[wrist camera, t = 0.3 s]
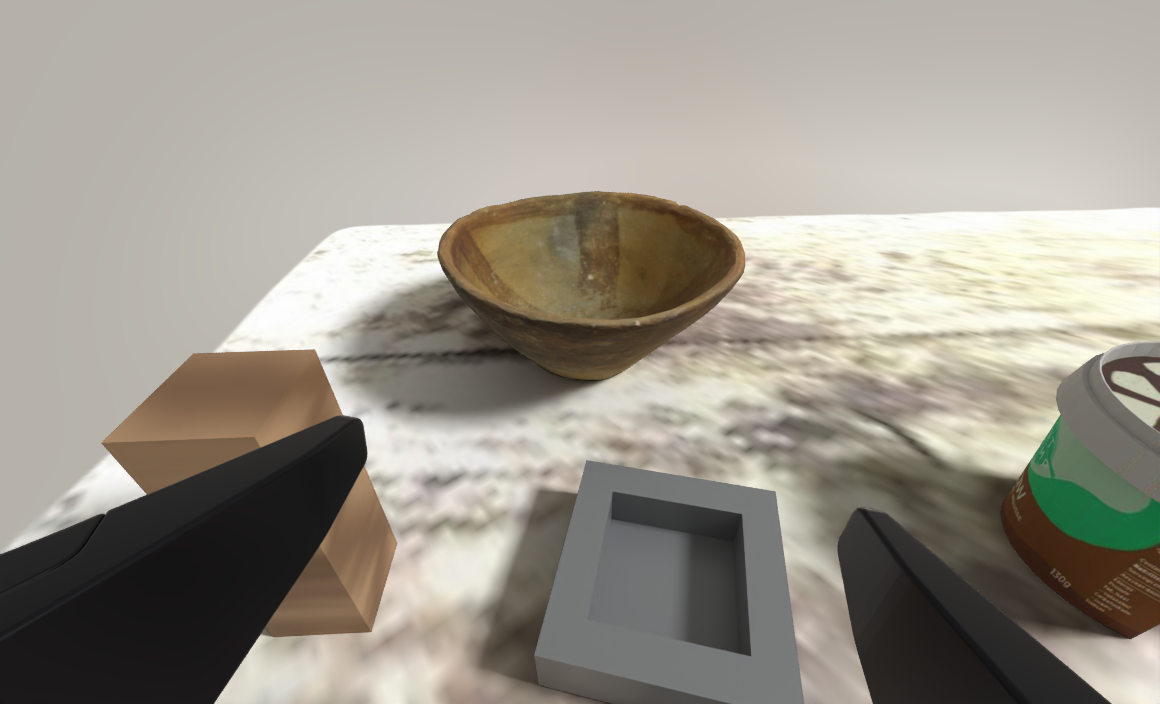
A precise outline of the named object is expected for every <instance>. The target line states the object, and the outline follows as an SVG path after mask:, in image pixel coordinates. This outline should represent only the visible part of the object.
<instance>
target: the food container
mask: <svg viewBox="0 0 1160 704" xmlns="http://www.w3.org/2000/svg"><path fill="white" fill-rule="evenodd" d="M1056 401H1057V405H1058V409H1059V412H1060V414H1061V415H1060V417H1059V418H1058V420H1057V421H1056V423H1055V424H1054V426H1053V427H1052V429H1051V430H1050V432H1049V433H1048V435H1047V436H1046V438H1045V439H1044V441H1043V442H1042V444H1041V445H1040V447H1039V448H1038V450H1037V452H1036V453H1035V455H1034V456H1033V458H1032V459H1031V461H1030V462H1029V464H1028V465H1027V467H1026V468H1025V470H1024V471H1023V473H1022V474H1021V476H1020V477H1019V479H1018V480H1017V482H1016V483H1015V485H1014V486H1013V488H1012V490H1011V491H1010V493H1009V494H1008V496H1007V497H1006V499H1005V500H1004V502H1003V503H1002V507H1001V521H1002V525H1003V528H1004V531H1005V533H1006V535H1007V537H1008V539H1009V541H1010V543H1011V544H1012V546H1013V547H1014V549H1015V550H1016V552H1017V553H1018V554H1019V556H1020V557H1021V558H1022V559H1023V561H1024V562H1025V563H1026V564H1027V565H1028V566H1029V567H1030V569H1031V570H1032V571H1033V572H1034V573H1035V574H1036V575H1037V576H1038V577H1039V578H1041V579H1042V580H1043V581H1044V582H1045V583H1046V584H1047V585H1048V586H1049V587H1050V588H1052V589H1053V590H1054V591H1055V592H1056V593H1058V594H1059V595H1060V596H1061V597H1063V598H1064V599H1065V600H1067V601H1068V602H1069V603H1071V604H1072V605H1074V606H1075V607H1076V608H1078V609H1079V610H1081V611H1082V612H1083V613H1085V614H1087V615H1088V616H1090V617H1091V618H1093V619H1095V620H1096V621H1098V622H1100V623H1101V624H1103V625H1104V626H1106V627H1108V628H1110V629H1112V630H1114V631H1116V632H1118V633H1120V634H1122V635H1123V636H1125V637H1127V638H1129V639H1132V638H1134V637H1136V636H1138V635H1140V634H1142V633H1144V632H1146V631H1148V630H1150V629H1152V628H1153V627H1155V626H1157V625H1159V624H1160V342H1159V341H1149V342H1134V343H1128V344H1122V345H1120V346H1117V347H1114V348H1111V349H1110V350H1109V351H1107V352H1106V353H1103V354H1100V355H1097V356H1095V357H1093V358H1092V359H1091V360H1089V361H1088V362H1086V363H1085V364H1084V365H1082V366H1081V367H1080V368H1079V369H1077V370H1076V371H1075V372H1073V373H1072V374H1071V375H1069V376H1068V377H1067V378H1065V379H1064V380H1063V381H1062V382H1061V384H1060V385H1059V387H1058V388H1057V395H1056Z"/></svg>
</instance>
